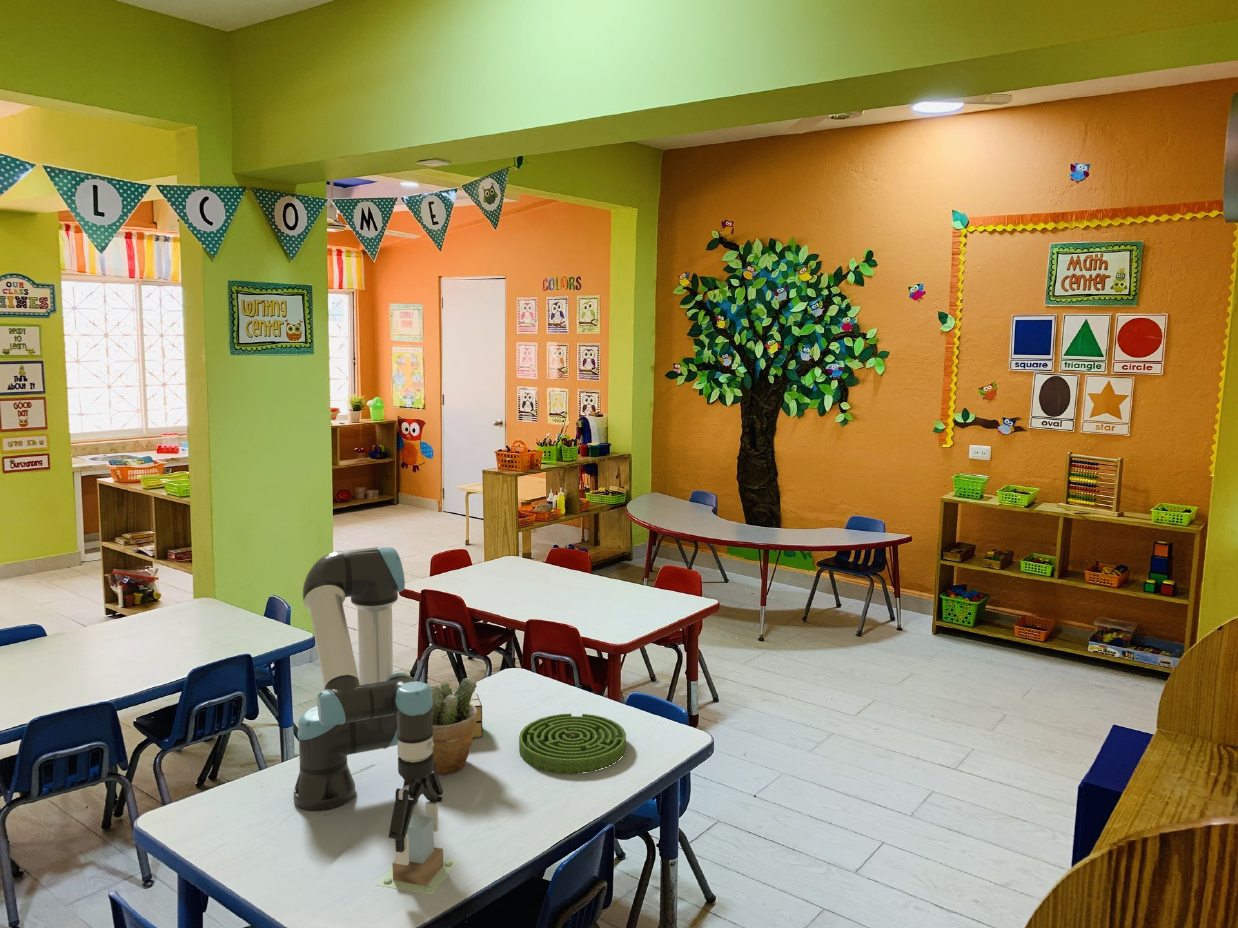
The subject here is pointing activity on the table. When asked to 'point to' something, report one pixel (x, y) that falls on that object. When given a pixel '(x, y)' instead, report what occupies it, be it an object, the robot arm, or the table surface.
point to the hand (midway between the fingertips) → (417, 846)
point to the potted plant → (452, 725)
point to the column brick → (420, 838)
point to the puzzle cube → (477, 704)
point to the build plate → (428, 889)
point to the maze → (572, 743)
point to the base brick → (419, 869)
